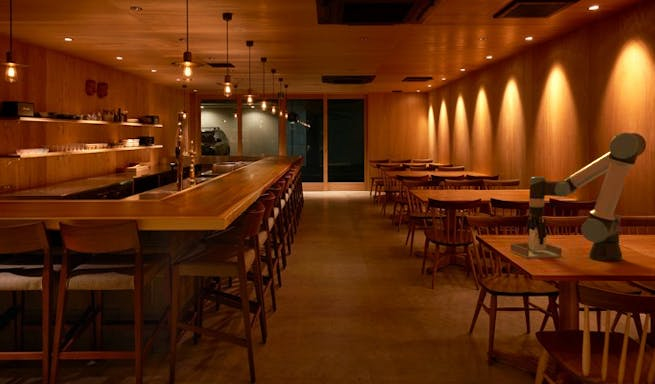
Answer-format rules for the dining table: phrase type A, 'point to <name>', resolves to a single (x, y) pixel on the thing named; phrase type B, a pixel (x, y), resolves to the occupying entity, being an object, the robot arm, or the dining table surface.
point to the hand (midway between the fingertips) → (535, 248)
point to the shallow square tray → (535, 251)
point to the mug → (535, 240)
